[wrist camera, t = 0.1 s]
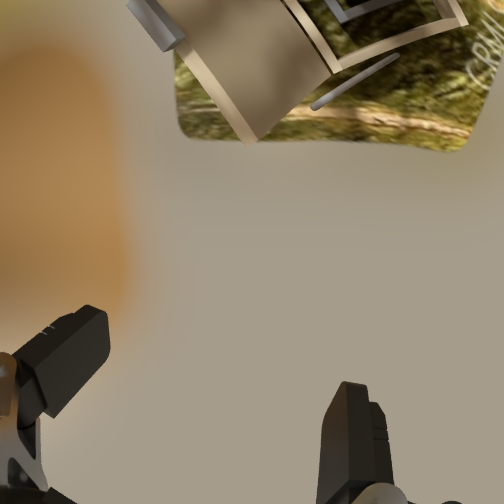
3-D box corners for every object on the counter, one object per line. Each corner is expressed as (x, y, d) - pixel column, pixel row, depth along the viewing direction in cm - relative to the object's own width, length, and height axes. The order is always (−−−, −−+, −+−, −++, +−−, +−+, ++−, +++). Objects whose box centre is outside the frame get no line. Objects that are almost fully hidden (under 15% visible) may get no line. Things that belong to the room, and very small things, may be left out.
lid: (229, -59, 17) (221, -52, 18) (85, -66, 7) (76, -52, 8) (332, 75, 25) (321, 79, 26) (253, 146, 15) (237, 154, 16)
